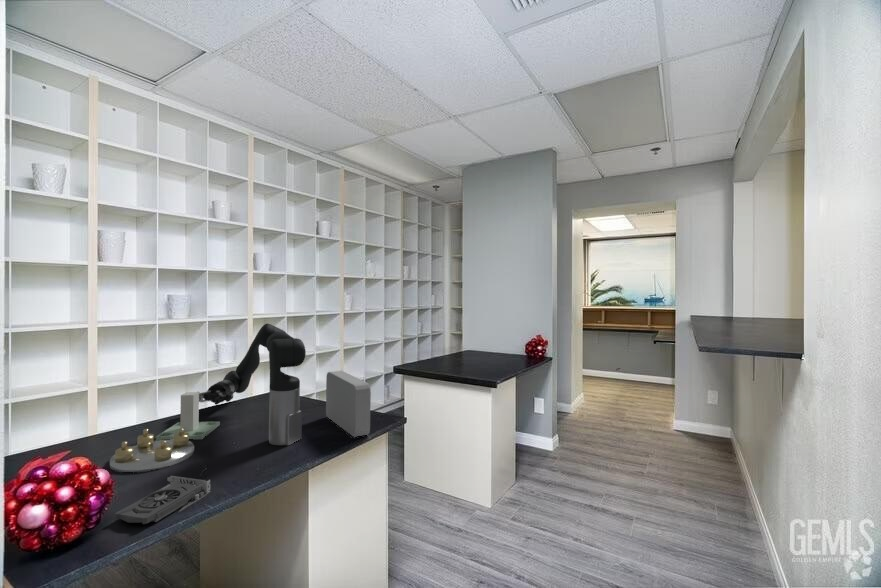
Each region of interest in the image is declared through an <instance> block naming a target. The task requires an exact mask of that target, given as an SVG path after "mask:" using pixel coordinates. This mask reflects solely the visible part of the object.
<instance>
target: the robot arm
mask: <svg viewBox="0 0 881 588" xmlns="http://www.w3.org/2000/svg"><path fill="white" fill-rule="evenodd" d="M260 346H263V347H264V348H266V349H267V351H268V358H269V399H268V400H269V402H268V405H269V406H268V407H269V410H268V411H269V412H268V443H269V444H270V445H272V446H290V445H292V444H294V442H295V443H296V441H297V442H298V440H299V441H301V440H302V438H303V437H302V436H303V435H302V431H303V430H302V429H303V428H302V426H303V423H302V421H303V419H302V418H303V411H302V410H300V398H301V397H300V390H301V389H300V388H301V384H300V382H301V381H300V379H299V378H298V377H297V376H293V375H291V374H290V375H289V374H286V373H285V372H283V371H281V368H291V367H293V368H294V367H299V366H301V365H302V364H303V363H304V362H305V358H306V346H305V343H304V342H303V340H302V339H300V338H297V337H296V338H295V337H293V336H291V335H289V334H288V333H287V332H286V331H285V330H283V329H281V328H280V327H278V326H275V325H273V324H272V323H271V324H270V323H264V324H263V325H262V326H261V327H260V329H259V330H258V332H257V333H256V335H255V337H254V339H253V340H252V342H251V344H250V345H249V347H248V350H247V352H246V354H245V356H244V357H243V359H242V360H241V361H240V362H239V364H238V365H237V366H236V368H235V370H230V371H229V372H227V373H226V375H225V376H224V378H223V380H219V381H218V382H216V383H214V384H212V385H210V387H208V389H207V390H206V391H204V392H199V403H205V402H211V403H213V404H214V405H215V406H217V405H219V404H220V403H224V402H227V403H228V402H230V401H231V400H232V399H234V394H235V393H237V394H242V393H243V392H245V391H246V390H247V389H248V387H249V386H250V382H251V380H252V376H253V374H254V373H255V372H256V370H258V367H259V366H260V361H261V358H260ZM300 439H301V440H300Z"/></svg>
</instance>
